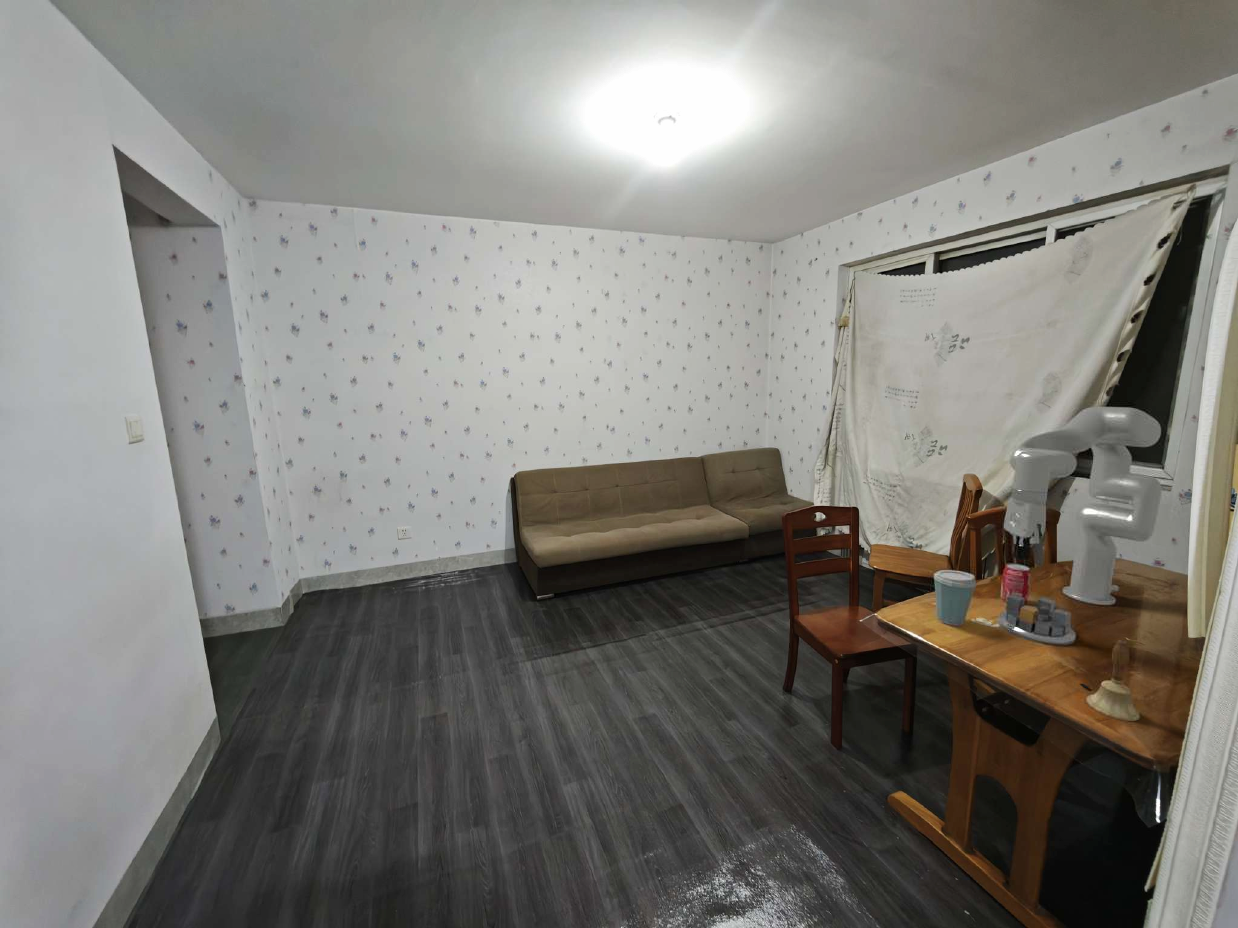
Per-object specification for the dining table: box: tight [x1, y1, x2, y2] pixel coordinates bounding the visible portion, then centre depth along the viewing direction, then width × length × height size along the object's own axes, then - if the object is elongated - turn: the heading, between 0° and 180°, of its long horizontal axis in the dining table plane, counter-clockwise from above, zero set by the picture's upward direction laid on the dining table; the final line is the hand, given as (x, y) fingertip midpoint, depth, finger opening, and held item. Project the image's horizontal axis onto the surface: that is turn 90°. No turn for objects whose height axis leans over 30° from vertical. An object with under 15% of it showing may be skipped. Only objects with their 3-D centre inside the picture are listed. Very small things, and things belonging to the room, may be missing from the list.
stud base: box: [997, 611, 1077, 646], centre depth 140 cm, size 17×17×5 cm
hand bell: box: [1085, 639, 1141, 722], centre depth 105 cm, size 8×8×16 cm
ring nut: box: [1004, 595, 1072, 636], centre depth 139 cm, size 14×14×6 cm
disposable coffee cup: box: [933, 569, 977, 627], centre depth 145 cm, size 11×11×15 cm
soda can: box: [1000, 563, 1032, 605], centre depth 157 cm, size 7×7×12 cm
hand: (1020, 558), depth 138 cm, fingers closed
